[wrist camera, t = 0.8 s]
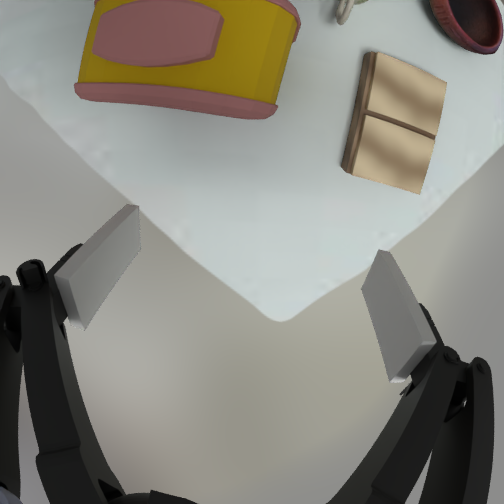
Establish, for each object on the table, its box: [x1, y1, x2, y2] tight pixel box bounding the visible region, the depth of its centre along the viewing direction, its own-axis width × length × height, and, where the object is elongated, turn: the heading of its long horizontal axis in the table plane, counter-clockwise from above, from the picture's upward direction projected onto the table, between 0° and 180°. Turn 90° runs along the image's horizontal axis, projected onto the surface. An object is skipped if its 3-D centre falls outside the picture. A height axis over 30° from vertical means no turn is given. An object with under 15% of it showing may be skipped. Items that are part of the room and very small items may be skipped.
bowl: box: [429, 0, 503, 55], centre depth 16 cm, size 16×13×8 cm
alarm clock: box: [74, 0, 301, 119], centre depth 21 cm, size 18×11×19 cm, turn 76°
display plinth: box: [341, 51, 447, 195], centre depth 29 cm, size 16×11×4 cm
